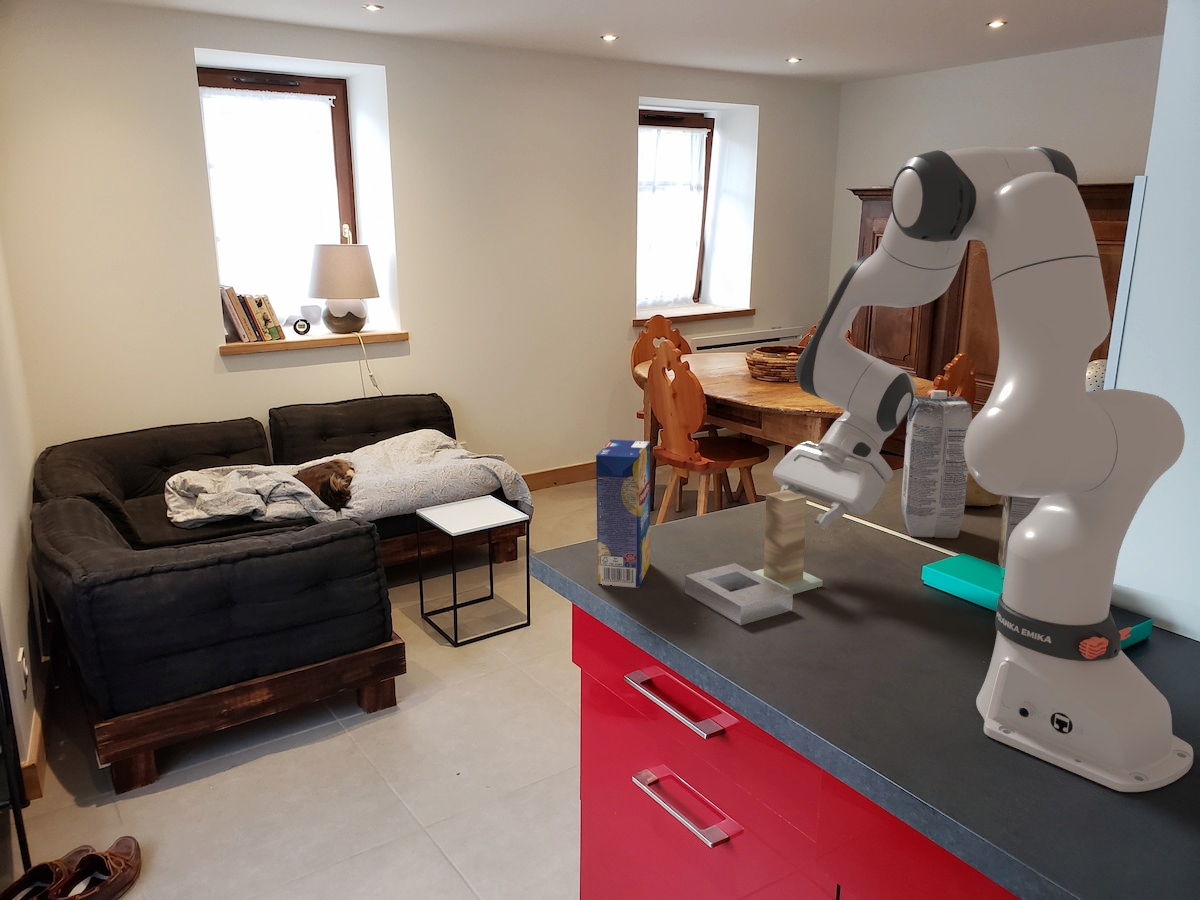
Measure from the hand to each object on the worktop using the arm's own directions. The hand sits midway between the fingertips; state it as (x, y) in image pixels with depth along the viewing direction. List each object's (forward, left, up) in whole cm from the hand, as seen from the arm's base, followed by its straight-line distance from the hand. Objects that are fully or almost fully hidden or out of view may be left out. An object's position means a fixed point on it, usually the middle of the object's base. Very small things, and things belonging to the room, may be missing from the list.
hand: (798, 518), depth 146 cm
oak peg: (0, +3, -10) cm, 10 cm away
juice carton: (+4, -37, -11) cm, 39 cm away
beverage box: (+17, +23, -11) cm, 31 cm away
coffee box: (-17, -34, -11) cm, 40 cm away
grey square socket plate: (-2, +14, -11) cm, 18 cm away
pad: (0, +3, -11) cm, 11 cm away
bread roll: (+12, -56, -11) cm, 58 cm away
